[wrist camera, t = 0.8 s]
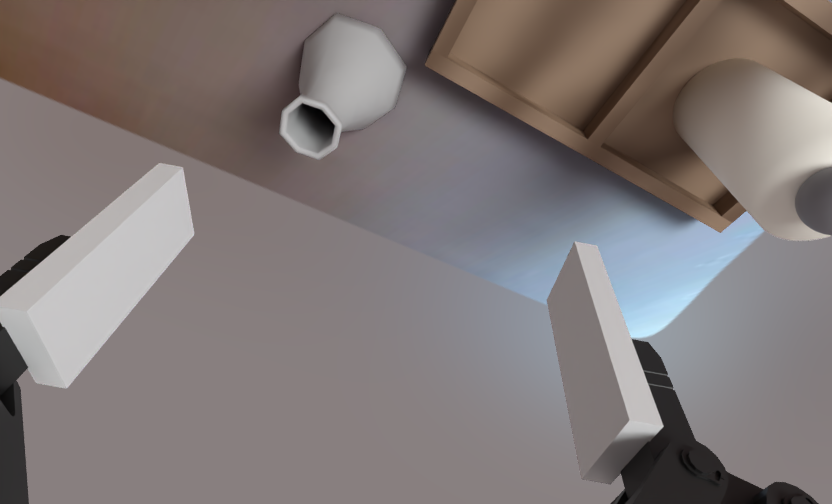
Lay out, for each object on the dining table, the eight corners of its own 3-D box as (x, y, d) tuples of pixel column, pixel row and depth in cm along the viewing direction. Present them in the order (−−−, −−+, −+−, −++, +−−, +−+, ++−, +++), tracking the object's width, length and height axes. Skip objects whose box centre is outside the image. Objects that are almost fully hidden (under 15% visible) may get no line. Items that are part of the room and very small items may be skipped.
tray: (427, 55, 30) (424, 65, 28) (550, -191, 22) (557, -200, 21) (707, 215, 34) (720, 232, 33) (886, 55, 27) (916, 66, 25)
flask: (369, 144, 34) (335, 215, 26) (283, 83, 32) (218, 141, 24) (426, 63, 30) (408, 118, 22) (332, -12, 28) (275, 19, 20)
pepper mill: (653, 121, 30) (750, 239, 19) (724, 40, 27) (889, 127, 16) (718, 160, 31) (844, 292, 20) (794, 86, 28) (992, 198, 17)
